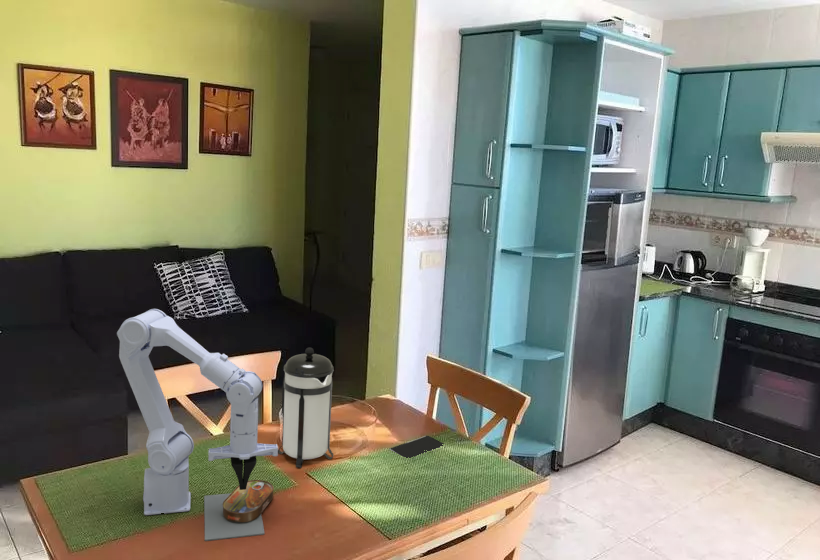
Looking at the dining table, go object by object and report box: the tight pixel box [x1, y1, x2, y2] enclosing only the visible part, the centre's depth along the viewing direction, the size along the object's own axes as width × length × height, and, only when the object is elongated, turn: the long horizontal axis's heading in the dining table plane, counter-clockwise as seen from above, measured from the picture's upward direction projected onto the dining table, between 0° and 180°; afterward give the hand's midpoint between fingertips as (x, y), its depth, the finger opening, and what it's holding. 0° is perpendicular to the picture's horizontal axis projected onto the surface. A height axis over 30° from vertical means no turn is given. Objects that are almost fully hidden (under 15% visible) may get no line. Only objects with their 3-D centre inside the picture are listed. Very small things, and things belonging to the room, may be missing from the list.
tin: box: [223, 479, 275, 522], centre depth 147 cm, size 15×3×8 cm
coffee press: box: [278, 347, 335, 469], centre depth 173 cm, size 17×16×30 cm
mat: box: [203, 492, 265, 542], centre depth 144 cm, size 12×18×1 cm, turn 17°
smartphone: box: [388, 435, 445, 458], centre depth 183 cm, size 8×1×15 cm
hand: (242, 487), depth 144 cm, fingers closed
